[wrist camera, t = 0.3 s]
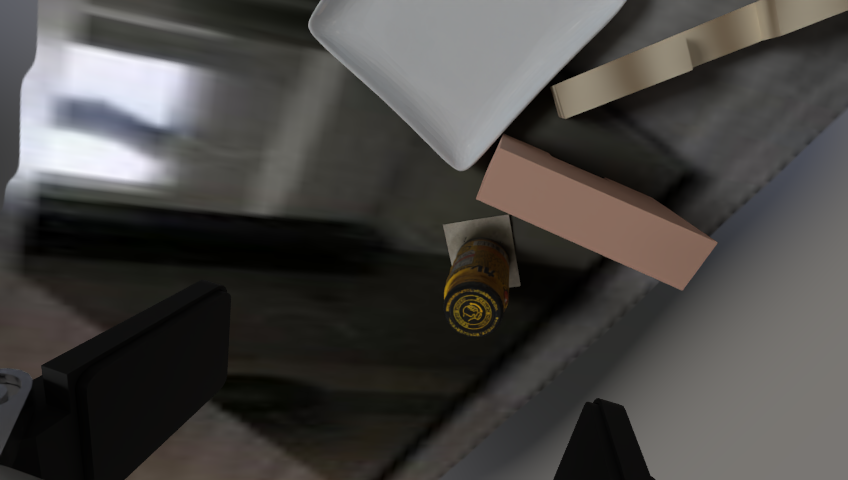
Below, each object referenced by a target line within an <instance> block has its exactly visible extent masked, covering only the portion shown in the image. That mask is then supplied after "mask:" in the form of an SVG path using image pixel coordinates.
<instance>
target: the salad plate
mask: <svg viewBox="0 0 848 480" xmlns="http://www.w3.org/2000/svg"><path fill="white" fill-rule="evenodd" d="M626 1H627V0H321V1H320V2H319V4H318V5H317V7H316V9H315V11H314V12H313V14H312V16H311V18H310V20H309V24H308V27H309V30H310V32H311V33H312V34H313V36H314V37H315V38H316V39H317V40H318V41H319V42H320V43H321V44H322V45H323V46H324V47H325V48H326V49H327V50H328V51H329V52H330V53H331V54H332V55H333V56H334V57H335V58H337V59H338V60H339V61H340V62H341V63H342V64H343V65H344V66H345V67H347V68H348V69H349V70H350V71H351V72H352V73H353V74H354V75H356V76H357V77H358V78H359V79H360V80H361V81H362V82H363V83H365V84H366V85H367V86H368V87H369V88H370V89H371V90H372V91H373V92H375V93H376V94H377V95H378V96H379V97H380V98H381V99H382V100H383V101H384V102H386V103H387V104H388V105H389V106H390V107H391V108H392V109H393V110H394V111H395V112H396V113H397V114H398V115H399V116H400V117H401V118H402V119H403V120H404V121H405V122H406V123H407V124H408V125H409V126H410V127H411V128H412V129H413V130H414V131H415V132H416V133H417V134H418V135H419V136H420V137H421V138H422V139H423V140H424V141H425V142H426V143H427V144H428V145H429V146H430V147H431V148H432V149H433V150H434V151H435V152H436V153H437V154H438V155H439V156H440V157H441V158H442V159H444V160H445V161H446V162H447V163H448V164H449V165H450V166H451V167H453V168H454V169H456V170H458V171H465V170H467V169H469V168H470V167H471V166H472V165H473V164H474V163H476V162H477V161H478V160H479V159H480V158H481V156H482V155H483V154H484V153H485V152H486V151H487V150H488V149H489V148H490V147H491V145H492V144H493V143H494V142H495V141H496V140H497V139H498V138H499V136H500V135H501V134H502V133H503V132H504V131H505V130H506V129H507V128H508V126H509V125H510V124H511V123H512V122H513V121H514V120H515V119H516V118H517V117H518V115H519V114H520V113H521V112H522V111H523V110H524V109H525V108H526V107H527V106H528V105H529V103H530V102H531V101H532V100H533V99H534V98H535V97H536V96H537V95H538V94H539V92H540V91H541V90H542V89H543V88H544V87H545V86H546V85H547V84H548V83H549V82H550V81H551V80H552V79H553V78H554V77H555V76H556V75H557V74H558V73H559V72H560V71H561V70H562V69H563V68H564V67H565V66H566V65H567V64H568V63H569V62H570V61H571V60H572V59H573V58H574V56H575V55H576V54H577V53H578V52H579V51H581V50H582V49H583V48H584V47H585V46H586V45H587V44H588V43H589V42H590V41H591V40H592V39H593V38H594V37H595V36H596V35H597V34H598V33H599V32H600V31H601V30H602V29H603V28H604V27H605V26H606V25H607V24H608V23H609V22H610V21H611V19H612V18H613V17H614V16H615V15H616V14H617V13H618V12H619V11H620V9H621V8H622V7H623V5H624V4H625V3H626Z"/></svg>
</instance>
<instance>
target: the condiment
mask: <svg viewBox="0 0 848 480" xmlns="http://www.w3.org/2000/svg"><path fill="white" fill-rule="evenodd" d="M443 227H444V232H445V236H446V241H447V245H448V251H449V255H450V259H451V263H452V267H451V270H450V274H449V276H448V278H447V280H446V286H445V290H444V299H445V300H444V303H443V304H444V308H443V309H444V313H445V317H446V320H447V322H448V323H449V324H450V325H451V326H452V328H453V329H454V330H455V331H456V332H458V333H460V334H463V335H465V336H469V337H482V336H485V335H487V334H490V333H491V332H493V331H494V330H495V329H496V328H497V327H498V326H499V325H500V323H501V321H502V319H503V314H504V311H505V310H506V307H507V305H508V300H509V287H518V286H521V284H520V278H519V272H518V266H517V260H516V255H515V249H514V243H513V237H512V231H511V225H510V219H509V215H503V216H495V217H489V218H482V219H476V220H469V221H464V222H457V223H452V224H446V225H443ZM465 237H467V239H466V240H465ZM464 240H465V242H464V243H463V241H464ZM501 242H502V243H501Z"/></svg>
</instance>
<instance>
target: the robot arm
mask: <svg viewBox="0 0 848 480" xmlns="http://www.w3.org/2000/svg"><path fill="white" fill-rule="evenodd" d="M230 307H231V296H230V294H229V293H227V290H226V288H225V287H224V286H222V285H219V284H216V283H212V282H209V281H206V280H201V281H199V282H197V283H195V284H193V285H191V286H189V287H187V288H186V289H184V290H182V291H180V292H178V293H176V294H174V295H172V296H171V297H169V298H167V299H165V300H163V301H161V302H159V303H157V304H156V305H154V306H152V307H150V308H148V309H146V310H144V311H142V312H141V313H139V314H137V315H135V316H133V317H131V318H129V319H127V320H126V321H124V322H122V323H120V324H118V325H116V326H114V327H112V328H111V329H109V330H107V331H105V332H103V333H101V334H99V335H97V336H95V337H94V338H92V339H90V340H88V341H86V342H84V343H82V344H80V345H79V346H77V347H75V348H73V349H71V350H69V351H67V352H65V353H64V354H62V355H60V356H58V357H56V358H54V359H52V360H50V361H49V362H47V363H45V364H43V365H41V368H42V375H41V376H40V377H38V378H36V379H34V380H33V379H32V378H31V376H30V375H29V374H28V373H26V372H24V371H22V370H17V369H10V368H3V369H0V480H125V479H126V478H127V477H128V476H129V475H130V474H131V473H132V472H133V471H134V470H135V469H136V468H137V467H138V466H140V465H141V464H142V463H143V462H144V461H145V460H146V459H147V458H148V457H149V456H150V455H151V454H152V453H153V452H154V451H155V450H157V449H158V448H159V447H160V446H161V445H162V444H163V443H164V442H165V441H166V440H167V439H168V438H169V437H170V436H171V435H172V434H174V433H175V432H176V431H177V430H178V429H179V428H180V427H181V426H182V425H183V424H184V423H185V422H186V421H187V420H188V419H189V418H191V417H192V416H193V415H194V414H195V413H196V412H197V411H198V410H199V409H200V408H201V407H202V406H203V405H204V404H205V403H206V402H208V401H209V400H210V399H211V398H212V397H213V396H214V395H215V394H216V393H217V392H218V391H219V390H220V389H221V388H222V387H223V385H224V383H225V381H226V378H227V367H228V347H229V327H230ZM554 480H655V479H654V478H653V477H651V476H650V473H649V471H648V468H647V466H646V463H645V460H644V457H643V455H642V452H641V450H640V447H639V444H638V442H637V439H636V436H635V434H634V431H633V429H632V426H631V424H630V421H629V418H628V416H627V413H626V410H625V408H624V406H622V405H619V404H616V403H613V402H609V401H606V400H603V399H599V398H597V399H596V400H594V402H593V403H591V402H586V403H585V405H584V407H583V409H582V412H581V414H580V417H579V419H578V421H577V424H576V426H575V429H574V431H573V434H572V436H571V439H570V441H569V443H568V446H567V448H566V450H565V453H564V455H563V458H562V460H561V462H560V465H559V467H558V470H557V472H556V474H555V477H554Z"/></svg>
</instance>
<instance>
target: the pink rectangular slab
mask: <svg viewBox="0 0 848 480" xmlns="http://www.w3.org/2000/svg"><path fill="white" fill-rule="evenodd" d="M476 199H477V200H479V201H482V202H484V203H486V204H488V205H491V206H493V207H495V208H497V209H500V210H502V211H504V212H506V213H509V214H511V215H513V216H515V217H518V218H520V219H522V220H524V221H527V222H529V223H531V224H533V225H536V226H538V227H540V228H542V229H545V230H547V231H549V232H551V233H554V234H556V235H558V236H561V237H563V238H565V239H567V240H570V241H572V242H574V243H576V244H579V245H581V246H583V247H585V248H588V249H590V250H592V251H594V252H597V253H599V254H601V255H603V256H606V257H608V258H610V259H612V260H615V261H617V262H619V263H621V264H624V265H626V266H628V267H630V268H633V269H635V270H637V271H639V272H642V273H644V274H646V275H648V276H651V277H653V278H655V279H657V280H660V281H662V282H664V283H667V284H669V285H671V286H673V287H675V288H678V289H680V290H683V289H684V288H685V286H686V285H687V284H688V282H689V281H690V280H691V278H692V277H693V276H694V274H695V273H696V272H697V270H698V269H699V267H700V266H701V265H702V263H703V262H704V261H705V259H706V258H707V257H708V255H709V254H710V253H711V251H712V250H713V249H714V247H715V246H716V245H717V242H716V241H715V240H713V239H712V238H710V237H709V236H708V235H706V234H705V233H703V232H702V231H700V230H699V229H697V228H696V227H694V226H693V225H691V224H690V223H689V222H687V221H686V220H684V219H683V218H681V217H680V216H678V215H677V214H675V213H674V212H672V211H671V210H669V209H668V208H667V207H665V206H664V205H662V204H661V203H659V202H658V201H656V200H655V199H653V198H652V197H650V196H647V195H645V194H643V193H640V192H638V191H636V190H633V189H631V188H629V187H626V186H624V185H622V184H619V183H617V182H615V181H613V180H610V179H608V178H606V177H604V179H603V178H601V177H598V176H596V175H594V174H591V173H589V172H587V171H585V170H582V169H580V168H578V167H575V166H573V165H571V164H568V163H566V162H564V161H561V160H559V159H557V158H554V157H552V156H551V155H550V154H549V153H548V152H545V151H543V150H541V149H538V148H536V147H534V146H532V145H529V144H527V143H525V142H522V141H520V140H518V139H515V138H513V137H511V136H508V135H506V134H504V133H503V135H502V138H501V140H500V142H499V144H498V146H497V149H496V151H495V153H494V155H493V157H492V159H491V162H490V164H489V166H488V168H487V170H486V173H485V176H484V179H483V181H482V184H481V187H480V189H479V192H478V195H477V198H476Z"/></svg>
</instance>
